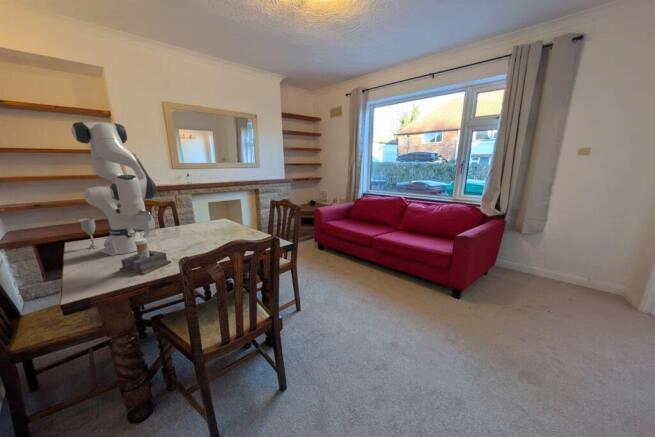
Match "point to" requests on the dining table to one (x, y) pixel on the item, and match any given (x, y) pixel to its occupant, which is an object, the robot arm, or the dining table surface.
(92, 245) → the chalice
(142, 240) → the sprinkles bottle
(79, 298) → the dining table surface
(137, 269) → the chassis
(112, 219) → the robot arm
